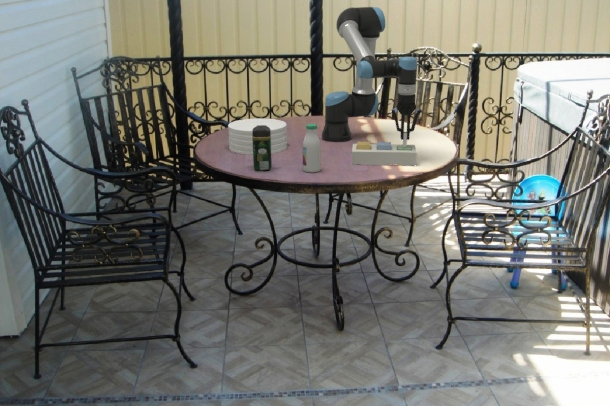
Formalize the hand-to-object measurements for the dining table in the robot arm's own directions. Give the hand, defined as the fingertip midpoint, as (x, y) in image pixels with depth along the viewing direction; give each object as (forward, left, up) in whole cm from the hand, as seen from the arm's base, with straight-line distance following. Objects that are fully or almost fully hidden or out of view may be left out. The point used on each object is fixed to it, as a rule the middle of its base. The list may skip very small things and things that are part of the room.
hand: (404, 146), depth 294 cm
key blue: (-9, 0, -3) cm, 10 cm away
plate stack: (-69, +21, -7) cm, 73 cm away
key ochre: (-18, 0, -3) cm, 18 cm away
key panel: (-9, 0, -7) cm, 11 cm away
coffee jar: (-62, -15, -7) cm, 64 cm away
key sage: (0, 0, -4) cm, 4 cm away
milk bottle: (-40, -17, -7) cm, 44 cm away
